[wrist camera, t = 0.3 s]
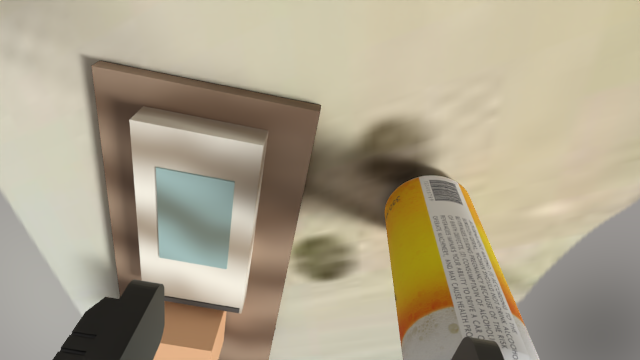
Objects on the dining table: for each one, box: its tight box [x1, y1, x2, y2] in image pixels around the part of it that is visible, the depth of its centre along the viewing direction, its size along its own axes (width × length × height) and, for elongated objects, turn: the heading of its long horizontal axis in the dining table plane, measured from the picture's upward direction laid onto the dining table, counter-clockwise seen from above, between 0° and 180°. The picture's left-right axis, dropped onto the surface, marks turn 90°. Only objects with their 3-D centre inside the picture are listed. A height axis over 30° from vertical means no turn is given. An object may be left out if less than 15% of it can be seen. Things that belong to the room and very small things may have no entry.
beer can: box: [385, 175, 540, 360], centre depth 24 cm, size 6×6×15 cm
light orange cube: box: [153, 301, 227, 360], centre depth 34 cm, size 6×5×5 cm
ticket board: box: [91, 61, 321, 360], centre depth 33 cm, size 30×14×3 cm, turn 169°
